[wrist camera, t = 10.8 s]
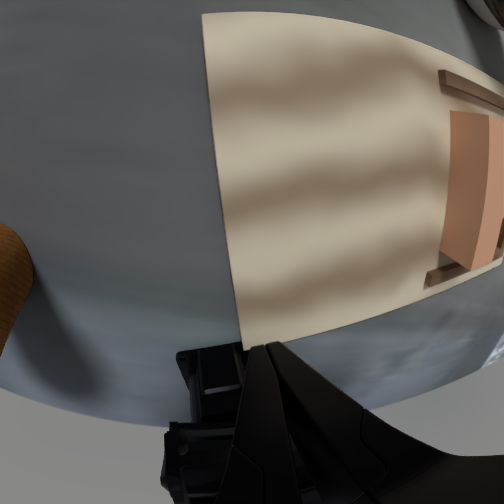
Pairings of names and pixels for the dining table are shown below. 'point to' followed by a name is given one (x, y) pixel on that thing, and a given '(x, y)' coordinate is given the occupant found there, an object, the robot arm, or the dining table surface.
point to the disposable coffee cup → (12, 280)
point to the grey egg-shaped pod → (489, 11)
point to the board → (333, 167)
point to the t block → (474, 189)
